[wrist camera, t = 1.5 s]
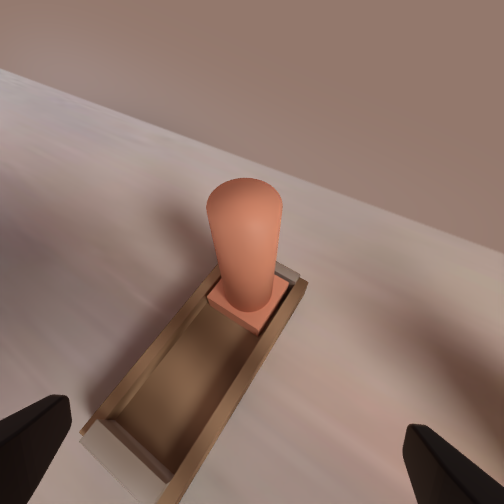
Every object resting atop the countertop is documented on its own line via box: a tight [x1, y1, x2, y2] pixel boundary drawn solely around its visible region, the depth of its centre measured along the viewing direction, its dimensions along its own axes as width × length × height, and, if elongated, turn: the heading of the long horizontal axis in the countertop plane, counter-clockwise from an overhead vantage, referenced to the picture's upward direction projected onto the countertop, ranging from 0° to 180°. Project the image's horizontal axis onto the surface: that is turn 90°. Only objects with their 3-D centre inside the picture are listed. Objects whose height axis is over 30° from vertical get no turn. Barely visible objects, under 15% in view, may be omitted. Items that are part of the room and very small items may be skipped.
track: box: [79, 261, 308, 504], centre depth 20 cm, size 16×7×4 cm, turn 147°
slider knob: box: [206, 178, 289, 337], centre depth 18 cm, size 4×5×11 cm
